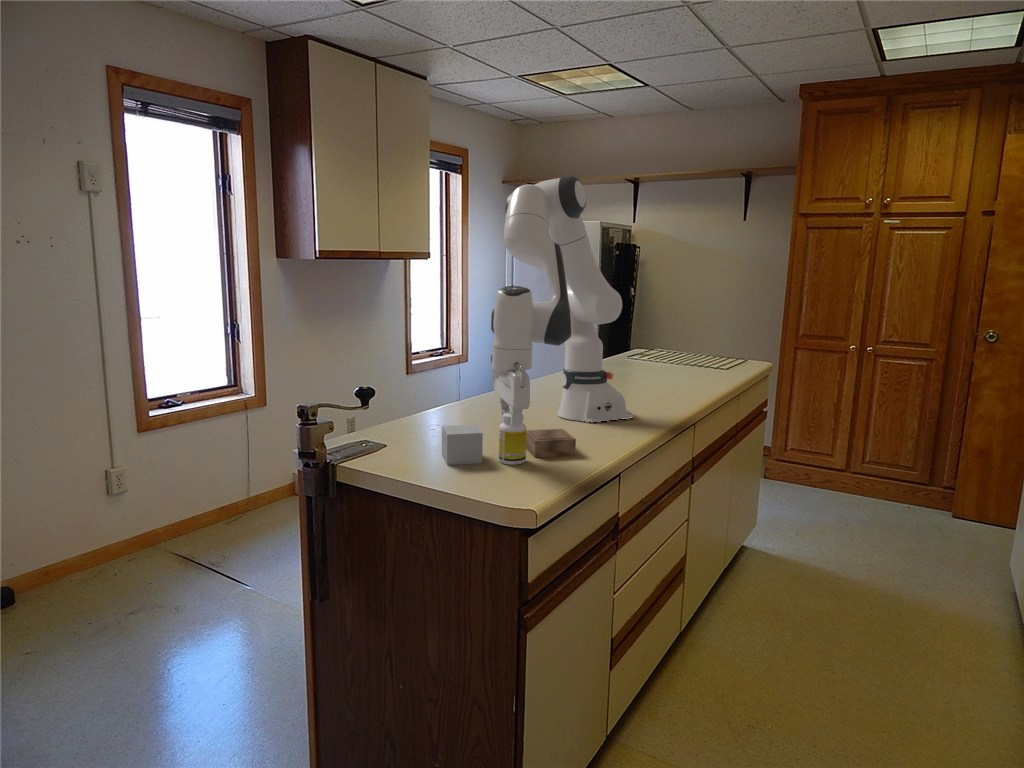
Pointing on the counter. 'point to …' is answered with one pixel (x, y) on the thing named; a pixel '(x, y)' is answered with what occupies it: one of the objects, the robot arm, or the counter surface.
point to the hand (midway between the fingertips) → (509, 420)
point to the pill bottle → (512, 441)
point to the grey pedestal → (462, 444)
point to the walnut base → (550, 443)
